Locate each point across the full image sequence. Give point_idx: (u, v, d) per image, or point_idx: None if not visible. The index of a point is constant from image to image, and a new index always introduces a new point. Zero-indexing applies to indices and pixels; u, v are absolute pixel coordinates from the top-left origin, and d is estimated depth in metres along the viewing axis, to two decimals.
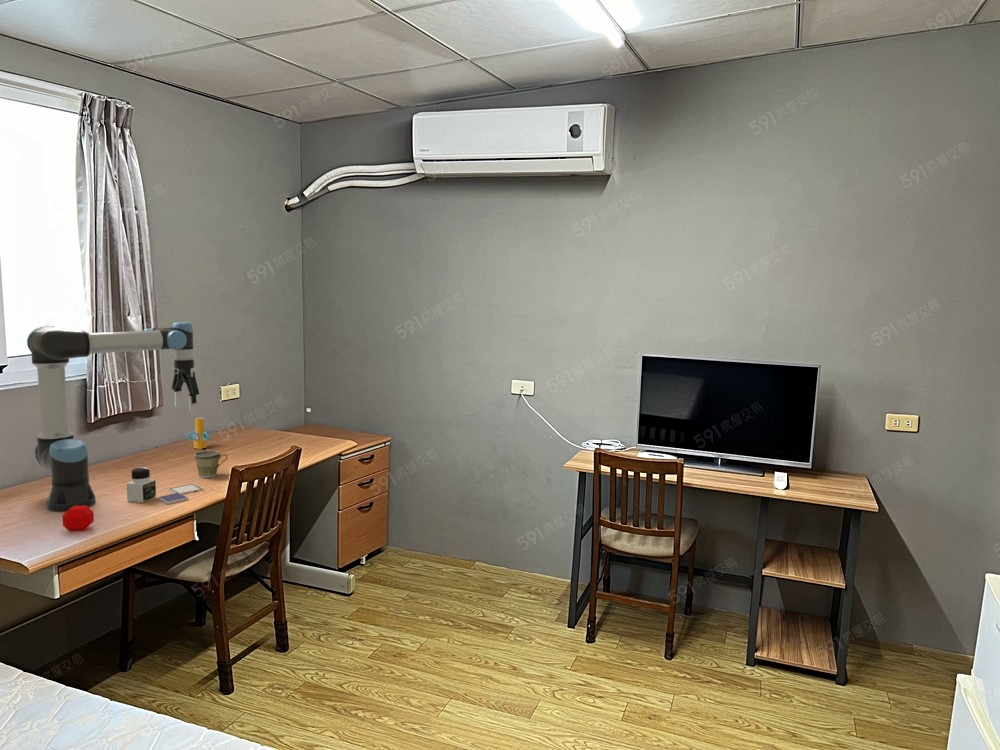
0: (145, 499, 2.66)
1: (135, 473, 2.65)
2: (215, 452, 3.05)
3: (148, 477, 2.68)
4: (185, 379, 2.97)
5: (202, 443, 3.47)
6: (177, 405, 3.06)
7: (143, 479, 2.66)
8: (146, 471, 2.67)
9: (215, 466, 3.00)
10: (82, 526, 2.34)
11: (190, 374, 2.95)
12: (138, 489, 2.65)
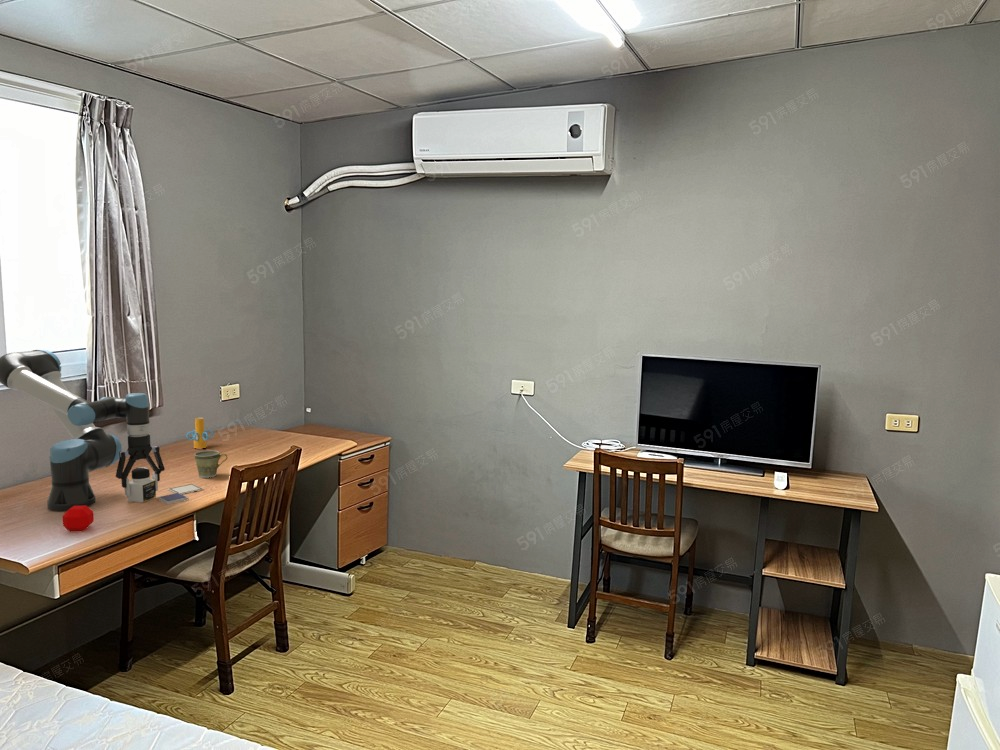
0: (145, 499, 2.66)
1: (135, 473, 2.65)
2: (215, 452, 3.05)
3: (148, 477, 2.68)
4: (129, 457, 2.66)
5: (202, 443, 3.47)
6: None
7: (143, 479, 2.66)
8: (146, 471, 2.67)
9: (215, 466, 3.00)
10: (82, 526, 2.34)
11: (119, 454, 2.62)
12: (138, 488, 2.65)
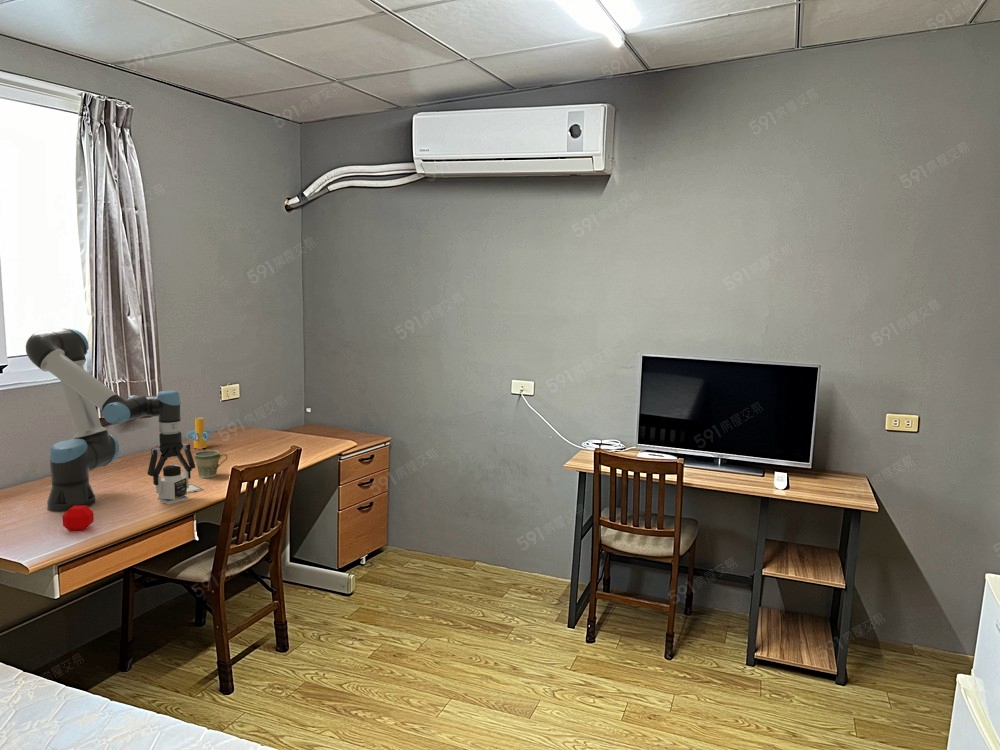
0: (176, 497, 2.66)
1: (167, 470, 2.65)
2: (215, 452, 3.05)
3: (179, 474, 2.68)
4: (161, 455, 2.66)
5: (202, 443, 3.47)
6: None
7: (175, 476, 2.66)
8: (177, 468, 2.67)
9: (215, 466, 3.00)
10: (82, 526, 2.34)
11: (151, 452, 2.62)
12: (170, 486, 2.65)
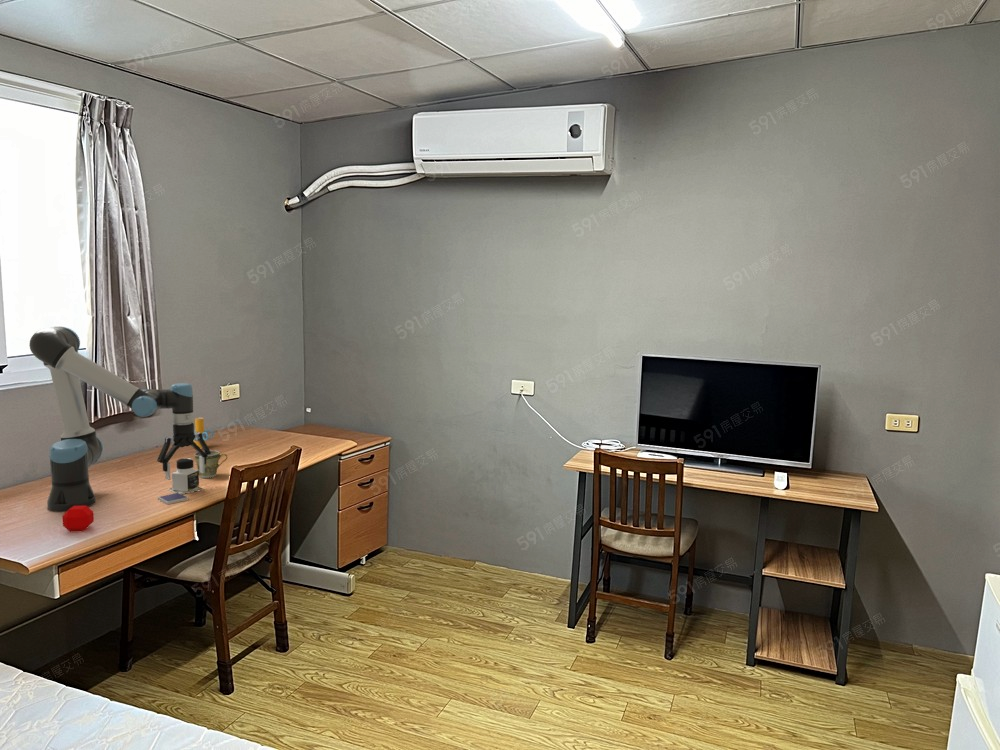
0: (189, 488, 2.79)
1: (180, 463, 2.78)
2: (215, 452, 3.05)
3: (192, 467, 2.81)
4: (173, 444, 2.78)
5: None
6: (200, 471, 2.87)
7: (188, 469, 2.79)
8: (190, 461, 2.80)
9: (215, 466, 3.00)
10: (82, 526, 2.33)
11: (165, 439, 2.75)
12: (183, 478, 2.78)
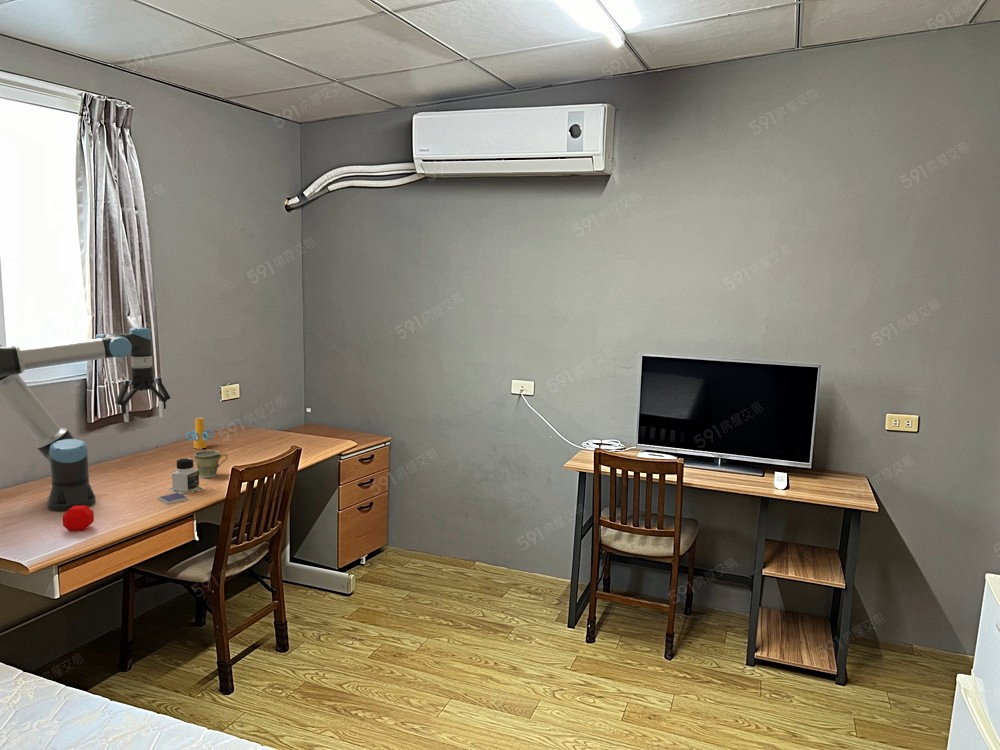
0: (189, 488, 2.79)
1: (180, 463, 2.78)
2: (215, 452, 3.05)
3: (192, 467, 2.81)
4: (132, 387, 2.81)
5: (202, 443, 3.47)
6: (160, 415, 2.90)
7: (188, 469, 2.79)
8: (190, 461, 2.80)
9: (215, 466, 3.00)
10: (82, 526, 2.34)
11: (123, 382, 2.78)
12: (183, 478, 2.78)
